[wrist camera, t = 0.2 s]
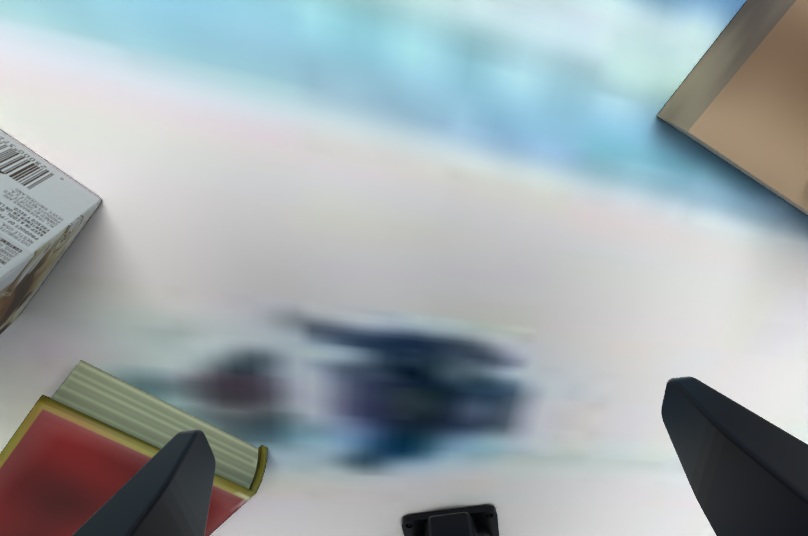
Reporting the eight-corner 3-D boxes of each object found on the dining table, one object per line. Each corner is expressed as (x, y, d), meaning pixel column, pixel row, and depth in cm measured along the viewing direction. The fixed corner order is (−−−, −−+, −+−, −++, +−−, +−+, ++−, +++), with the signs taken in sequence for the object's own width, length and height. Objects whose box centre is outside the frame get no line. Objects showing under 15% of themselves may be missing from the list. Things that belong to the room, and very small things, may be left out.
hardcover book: (271, 442, 31) (256, 504, 27) (116, 589, 39) (89, 653, 35) (81, 346, 27) (34, 405, 23) (-52, 532, 34) (-103, 599, 31)
